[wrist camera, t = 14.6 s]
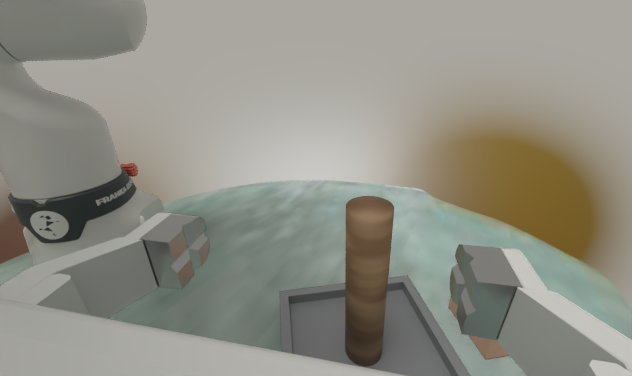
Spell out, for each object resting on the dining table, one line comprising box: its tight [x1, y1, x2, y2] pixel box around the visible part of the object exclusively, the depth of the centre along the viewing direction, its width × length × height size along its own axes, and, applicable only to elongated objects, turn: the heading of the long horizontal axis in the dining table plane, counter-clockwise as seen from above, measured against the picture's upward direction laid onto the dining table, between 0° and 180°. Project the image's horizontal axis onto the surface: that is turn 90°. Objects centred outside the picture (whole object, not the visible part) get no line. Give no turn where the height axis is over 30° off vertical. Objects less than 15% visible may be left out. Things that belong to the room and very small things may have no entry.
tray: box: [280, 275, 470, 376], centre depth 29 cm, size 16×16×2 cm
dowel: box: [345, 196, 394, 367], centre depth 26 cm, size 4×4×16 cm
